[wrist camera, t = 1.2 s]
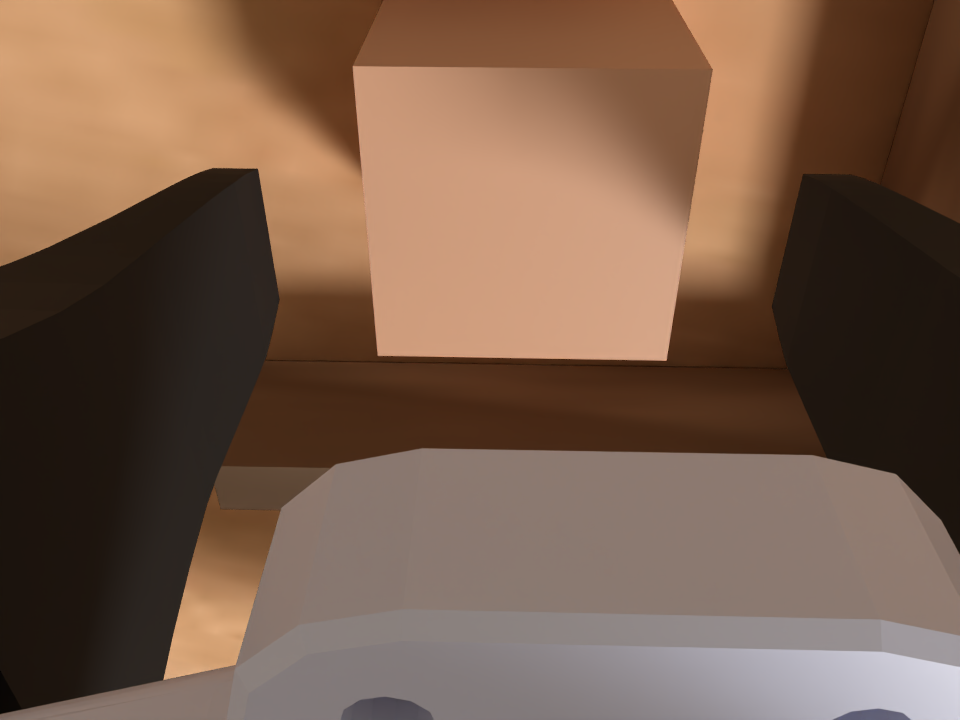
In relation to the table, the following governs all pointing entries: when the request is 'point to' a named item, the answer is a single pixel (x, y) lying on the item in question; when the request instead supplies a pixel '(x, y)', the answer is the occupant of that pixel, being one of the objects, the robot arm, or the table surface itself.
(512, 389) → the open box
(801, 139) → the table surface
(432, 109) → the terracotta block
